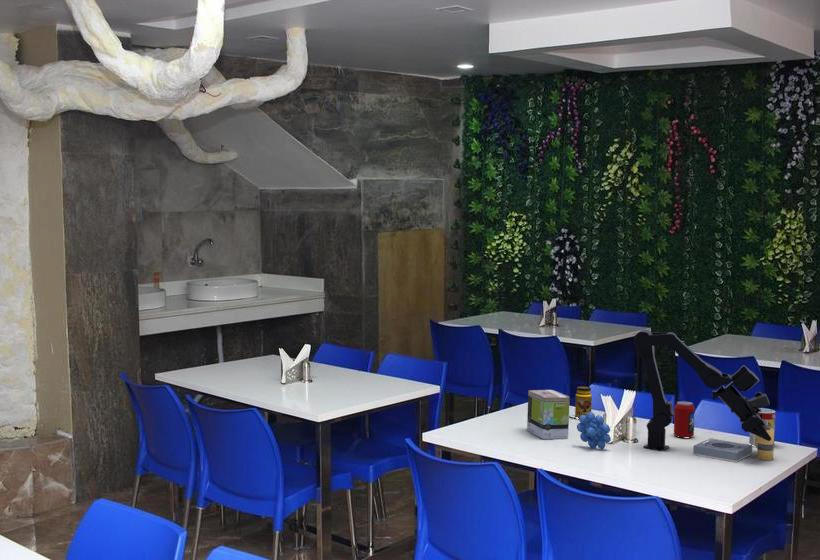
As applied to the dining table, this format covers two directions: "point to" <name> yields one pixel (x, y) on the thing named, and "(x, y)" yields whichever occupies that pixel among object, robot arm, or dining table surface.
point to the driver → (766, 445)
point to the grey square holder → (722, 450)
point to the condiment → (583, 401)
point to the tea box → (548, 414)
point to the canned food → (766, 416)
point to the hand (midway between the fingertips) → (770, 438)
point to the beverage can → (684, 419)
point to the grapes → (593, 430)
